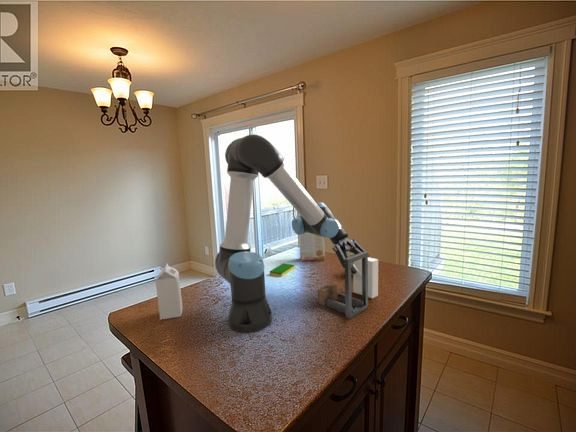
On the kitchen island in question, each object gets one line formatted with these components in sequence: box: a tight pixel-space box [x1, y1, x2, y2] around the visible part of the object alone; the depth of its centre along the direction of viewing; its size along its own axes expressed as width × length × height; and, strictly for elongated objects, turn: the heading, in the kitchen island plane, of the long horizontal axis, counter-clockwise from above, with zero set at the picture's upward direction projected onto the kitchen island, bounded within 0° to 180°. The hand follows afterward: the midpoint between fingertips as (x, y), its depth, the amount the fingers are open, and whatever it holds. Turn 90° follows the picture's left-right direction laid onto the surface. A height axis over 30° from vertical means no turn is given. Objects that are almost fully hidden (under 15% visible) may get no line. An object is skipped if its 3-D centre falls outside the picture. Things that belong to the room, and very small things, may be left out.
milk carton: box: [154, 262, 184, 321], centre depth 104 cm, size 7×7×19 cm
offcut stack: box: [317, 283, 338, 306], centre depth 110 cm, size 8×3×6 cm, turn 131°
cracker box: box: [298, 232, 326, 262], centre depth 163 cm, size 14×6×21 cm, turn 84°
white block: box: [352, 256, 379, 300], centre depth 114 cm, size 4×9×15 cm, turn 40°
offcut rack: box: [326, 251, 369, 320], centre depth 102 cm, size 12×12×21 cm
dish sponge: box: [269, 263, 295, 278], centre depth 146 cm, size 7×14×2 cm, turn 150°
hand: (368, 276), depth 112 cm, fingers open, 9 cm apart
